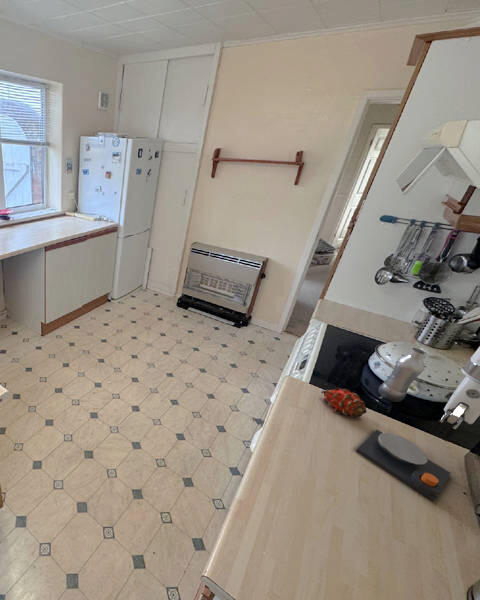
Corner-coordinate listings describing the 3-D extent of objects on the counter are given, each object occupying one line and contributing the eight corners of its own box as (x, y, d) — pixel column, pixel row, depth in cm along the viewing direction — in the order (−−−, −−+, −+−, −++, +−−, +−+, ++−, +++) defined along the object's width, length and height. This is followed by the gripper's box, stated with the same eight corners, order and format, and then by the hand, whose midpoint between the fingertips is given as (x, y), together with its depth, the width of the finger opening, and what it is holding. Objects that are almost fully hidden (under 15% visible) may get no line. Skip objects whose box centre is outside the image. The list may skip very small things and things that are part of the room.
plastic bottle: (376, 388, 116) (405, 342, 107) (401, 398, 112) (433, 352, 103) (374, 396, 112) (404, 349, 103) (400, 407, 108) (433, 360, 99)
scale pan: (430, 456, 86) (432, 454, 86) (419, 472, 81) (420, 470, 81) (385, 429, 94) (386, 427, 93) (371, 443, 89) (373, 441, 88)
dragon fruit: (360, 428, 100) (316, 409, 109) (371, 406, 102) (327, 389, 111) (362, 417, 95) (315, 397, 104) (373, 394, 97) (326, 377, 106)
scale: (448, 478, 85) (455, 469, 83) (431, 505, 78) (440, 496, 76) (373, 433, 97) (379, 425, 95) (354, 453, 90) (359, 444, 88)
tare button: (436, 484, 79) (440, 479, 78) (432, 489, 78) (437, 484, 77) (422, 475, 81) (426, 470, 80) (418, 480, 80) (422, 475, 79)
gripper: (507, 397, 64) (455, 454, 72) (521, 373, 73) (473, 427, 80) (455, 375, 70) (412, 430, 77) (474, 355, 78) (433, 406, 86)
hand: (443, 428), depth 79 cm, fingers open, 9 cm apart
